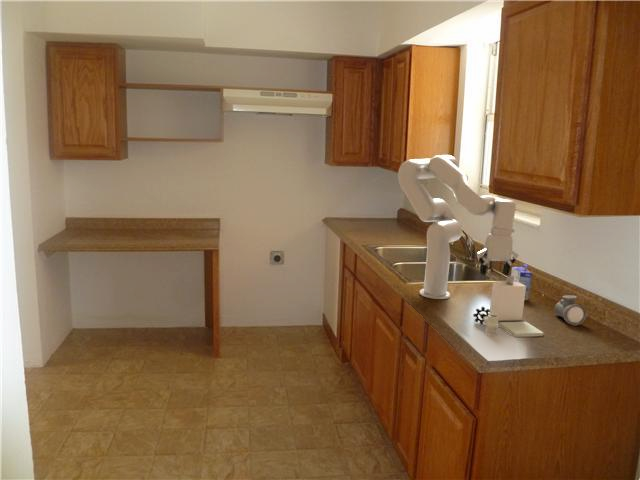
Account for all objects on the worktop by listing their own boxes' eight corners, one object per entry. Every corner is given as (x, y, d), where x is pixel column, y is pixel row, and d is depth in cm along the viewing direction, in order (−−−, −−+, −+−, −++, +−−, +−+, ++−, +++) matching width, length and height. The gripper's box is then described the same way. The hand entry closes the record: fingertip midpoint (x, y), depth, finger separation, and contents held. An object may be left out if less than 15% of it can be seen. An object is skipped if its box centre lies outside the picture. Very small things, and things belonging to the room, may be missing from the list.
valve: (502, 336, 193) (489, 323, 205) (505, 318, 192) (491, 306, 204) (484, 335, 193) (472, 323, 205) (486, 317, 192) (474, 306, 203)
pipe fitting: (587, 325, 208) (587, 298, 207) (565, 326, 207) (566, 299, 206) (570, 318, 219) (571, 292, 218) (550, 318, 219) (550, 293, 218)
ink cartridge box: (529, 300, 236) (533, 267, 233) (516, 300, 236) (520, 267, 233) (520, 293, 246) (524, 261, 243) (507, 293, 245) (511, 261, 242)
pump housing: (486, 317, 212) (491, 273, 209) (512, 316, 214) (517, 273, 211) (497, 324, 204) (502, 279, 201) (523, 323, 207) (530, 279, 203)
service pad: (498, 325, 204) (498, 322, 203) (525, 324, 206) (525, 321, 206) (515, 336, 193) (515, 333, 193) (543, 335, 195) (543, 332, 195)
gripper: (516, 230, 219) (509, 271, 223) (475, 228, 215) (469, 271, 219) (526, 234, 212) (519, 277, 216) (485, 233, 208) (478, 277, 212)
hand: (494, 274), depth 217 cm, fingers open, 9 cm apart
